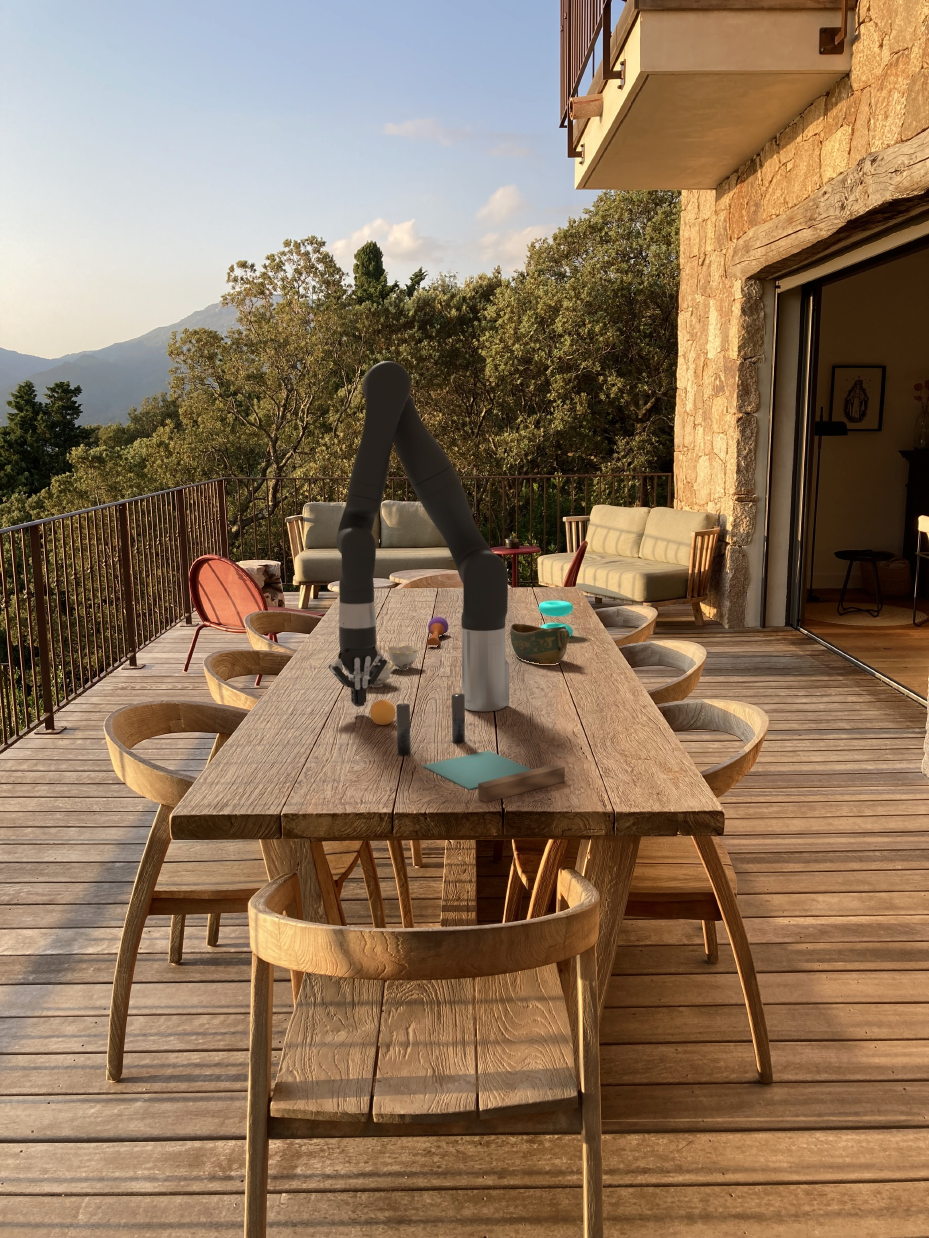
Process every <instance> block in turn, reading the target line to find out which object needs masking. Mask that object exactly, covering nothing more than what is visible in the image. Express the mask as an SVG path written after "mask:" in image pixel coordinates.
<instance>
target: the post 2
mask: <svg viewBox="0 0 929 1238" xmlns="http://www.w3.org/2000/svg"><path fill="white" fill-rule="evenodd" d="M465 710H466V709H465V695H464V694H462V692H460V693H459V692H458V693H452V694H451V733H452V734H451V741H452V743H453V744H464V743H465V742H466V718H465V717H466V715H465V714H466V711H465Z"/></svg>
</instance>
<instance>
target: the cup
mask: <svg viewBox="0 0 929 1238" xmlns="http://www.w3.org/2000/svg"><path fill="white" fill-rule="evenodd" d="M509 631H510V641H511V646H512V649H513V651H514V653H515V654H516V657H517V656H518V657H519V658H521V659H523V660H526V661H529V662H534V663H539V664H556V663H559V662H560V663H561V661H562V659H563V658H565V655H566V652H567V649H568V648H567V647H568V644H569V642H570V639H571V636H570V634H569V631H568V630H567V629H566V626H562V627H554V628H548V629H547V628H541V626H540V627H539V626H536V625H531V624H526V623H513V624H511V626H510V630H509Z"/></svg>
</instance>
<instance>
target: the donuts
mask: <svg viewBox="0 0 929 1238" xmlns="http://www.w3.org/2000/svg"><path fill="white" fill-rule="evenodd" d="M573 610H574V605H573V604H572V603H571V602H569V601H564V600H547V601H546V600H545V601H543V602H540V603H539V605H538V611H539V612H540V613H541V614H542V615H544V616H547V617H565V616H568V615H570V614H571V613H572V612H573ZM562 626H566V629H567V630H568V631H569V634H570V635H572V636H573V634H574V630H573V628H572V627H571V626H570V625H569V624H565V623H561V622H550V623H548V622H547V623H544V624H543V625H541V626H540V627H541V628H547V629H548V628H554V627H562Z"/></svg>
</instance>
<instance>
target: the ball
mask: <svg viewBox="0 0 929 1238" xmlns="http://www.w3.org/2000/svg"><path fill="white" fill-rule="evenodd" d="M370 708H371V709H370V710H369V711H370V712H369V713H370V718H371V719H372V721H373V722H374V724H376V725H380V726H387V725H389V724H390V723H392V722H393V721H394V719H395V717H396V714H397V711H396V708H395V705H394V704H393V703H392V702H391V701H389V700H387V699H380V700H378V701H377V700H376V702H374V703H373V704H372V706H371V707H370Z"/></svg>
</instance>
